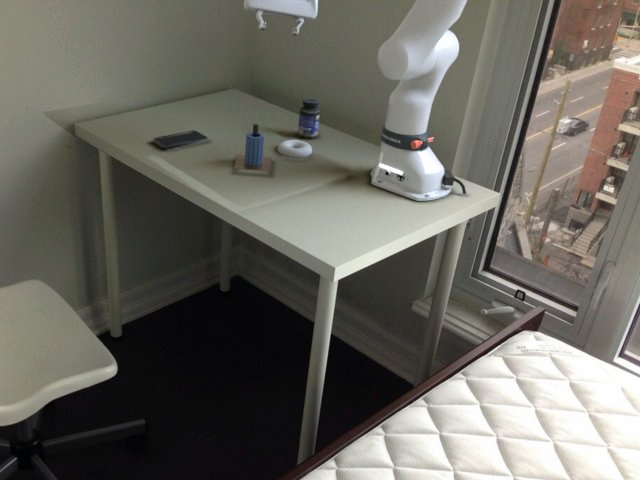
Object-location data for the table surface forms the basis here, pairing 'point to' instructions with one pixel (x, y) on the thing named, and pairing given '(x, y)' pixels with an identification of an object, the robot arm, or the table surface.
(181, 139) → the phone
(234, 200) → the table surface
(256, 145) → the tube
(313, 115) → the pill bottle
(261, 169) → the dowel stand
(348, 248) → the table surface
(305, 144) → the donut
